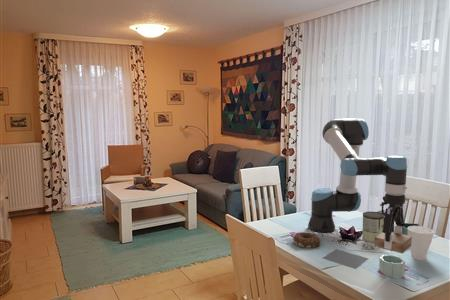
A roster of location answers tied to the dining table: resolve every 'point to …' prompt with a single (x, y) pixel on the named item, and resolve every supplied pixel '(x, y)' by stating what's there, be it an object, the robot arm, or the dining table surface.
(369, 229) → the coffee can
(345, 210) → the robot arm
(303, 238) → the donut
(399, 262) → the bowl
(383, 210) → the coffee grinder
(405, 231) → the flower pot
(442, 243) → the dining table surface
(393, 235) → the board
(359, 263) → the mat
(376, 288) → the dining table surface
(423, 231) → the cup
